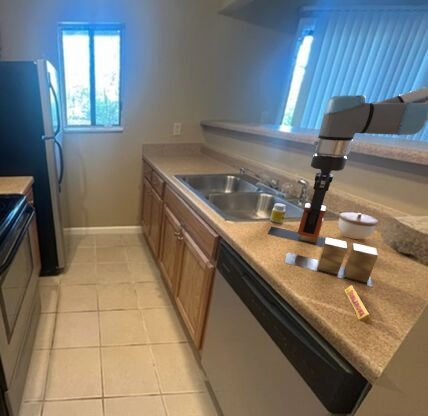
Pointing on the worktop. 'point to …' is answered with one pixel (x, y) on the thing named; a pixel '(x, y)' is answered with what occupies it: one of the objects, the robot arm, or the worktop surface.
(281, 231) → the mat
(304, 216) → the block
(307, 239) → the O block
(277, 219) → the supplement bottle
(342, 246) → the tan upright block
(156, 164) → the worktop surface
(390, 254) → the worktop surface
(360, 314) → the chocolate bar
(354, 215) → the trinket box
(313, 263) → the light grey flat rectangle
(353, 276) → the block
